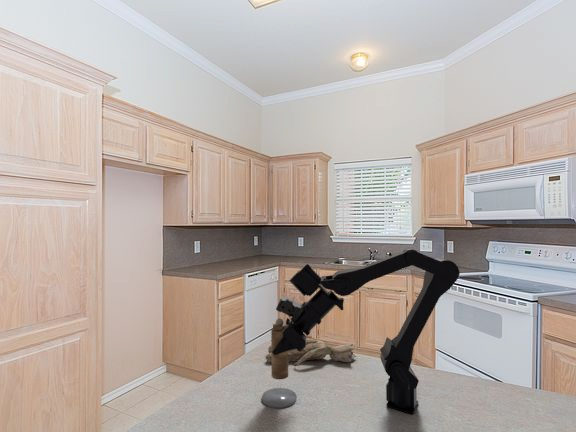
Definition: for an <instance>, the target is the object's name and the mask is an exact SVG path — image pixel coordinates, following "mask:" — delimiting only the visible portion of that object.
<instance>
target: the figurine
mask: <svg viewBox="0 0 576 432" xmlns="http://www.w3.org/2000/svg"><path fill="white" fill-rule="evenodd" d="M267 349H268V350H267V351H268V354H267V355H266V363H268V364H272V360H271V345H269V346H268V348H267ZM354 349H355V347H354V344H353V343H350V344H348V343H347V344H341V345H340V344H339V345H336V346H334V347H333V346H331V345H328V344H326V342H323V341H322V340H320V339H318V340H316V339H312V340H311V339H308V340H306V347H305V348H304V349H303V350H302V351H301V352H299V351H298V350H297V349H292V350H289V351H288V363H290V362H295V363H294V364H293V366H294V367H297V366H298V367H299V366H300V365H301V364H302V363H304V362H305V361H308V360H309V361H310V360H312V361H313V360H321V359H325V357H326V356H327V355H329V358H330V359H331V360H332V361H334V362H342V363H350V362H351V363H352V360H353V359H355V358H356V357H357V355H356V354H354V352H353V350H354Z"/></svg>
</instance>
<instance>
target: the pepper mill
mask: <svg viewBox="0 0 576 432" xmlns="http://www.w3.org/2000/svg"><path fill="white" fill-rule="evenodd" d="M286 326H287V325H286V322H285V323H284V320H283V319H282V318H281V317H280V318H277V319H276V320H275V323H273V324H272V328H271V329H270V330H271V331H270V332H271V333H270V335H271V341H270V342H271V344H270V346H271V360H272V363H271V378H272V379H274V380H284V379H288V378H289V362H288V351H286V352H283V353H280V354H277V355H274V354H273V353H272V351H273V350H274V348H275V347H276V345H277V344H278V342H279V341H280V340H281V338H282V337H283V334H282V330H283V327H286Z"/></svg>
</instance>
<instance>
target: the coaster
mask: <svg viewBox="0 0 576 432" xmlns="http://www.w3.org/2000/svg"><path fill="white" fill-rule="evenodd" d="M261 401H262V403H263V405H266V406H267V407H270V408H273V409H285V408H289V407H292V406H293V405H295V403H296V402H297V394H296V392H295V391H293V390H291V389H289V388H285V387H276V388H275V387H274V388H270V389H267V390H265V392H264V393H262V395H261Z"/></svg>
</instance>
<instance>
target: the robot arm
mask: <svg viewBox="0 0 576 432" xmlns="http://www.w3.org/2000/svg"><path fill="white" fill-rule="evenodd" d="M412 266H413V267H415V268H418V269H421V271H422V270H423V271H424V276H423V282H422V288H421V290H420V291H419V294H418V295H417V298H416V299H415V301H414V303H413V305H412V307H411V308H410V310H409V313H408V315H407V316H406V318H405V320H404V322H403V324H402V326H401V328H400V330H399V332H398V334H397V335H396V336H394V337H393V338H392V339H391V338H389V337H386V338H385V342H384V344H383V345H382V347H381V348H380V349H379V351H380V361H381V364H382V366H383V369H384V372H385V373H386V375H388V377H389V378H388V379H387V380H388V381H387V383H386V385H385V388H386V389H385V391H386V392H385V395H386V396H385V398H386V399H385V400H386V401H387V403H386V407H387V408H389V409H393V410H396V411H400V412H404V413H406V414H410V415H414V414H415V412H416V409H417V407H418V404H419V400H418V399H417V398H418V397H417V396H418V395H417V387H418V384H419V381H420V380H419V379H418V377H417V375H416V374H415V372H414V370H413V368H412V367H411V364H412V362H413V355H414V347H415V346H416V343H417V341H418V339H419V337H420V336H421V334H422V332H423V330H424V329H425V326H426V324H427V323H428V320H429V319H430V317H431V315H432V313H433V311H434V310H435V307H436V305H437V303H438V302H439V300H440V298H441V297H442V296H443V295H444V294H446V293H447V292H448V291H449V290H450V289H451V288H452V287H453V285H455V283H456V282H457V280H459V277H460V273H461V271H460V269H459V266H458V265H457V264H456V263H455V262H453V261H451V260H448V259H444V258H441V257H436V258H434V257H431V256H428V255H426V254H422V253H420V252H419V251H417V250H416V249H412V248H405V249H403V250H402V251H400V252H397V253H395V254H391V255H389V256H387V257H385V258H382V259H379V260H377V261H374V262H371V263H369V264H368V263H367V264H366V265H364V266H359V267H352V268H345V269H342V270H341V269H340V270H337V271H336V272H334V273H333V275H332V274H330V275H322V276H320V274H318V273H317V272H316V271H315V270H314V269H313V268H312V266H311V265H310V264H309V263H306V264H305V265H304V266H303V267H302V268H301V269H298V270H297V271H296V273H295V274H293V276H292V277H291V278H290V279H288V281H289V283H291V284H292V286H294V288H296V290H297V291H298V292H299V293H300V294H301V295H302V296H304V297H305V296H307V297H310V298H309V299H308V301H304V302H302V304H301V303H299V302H297V301H296V300H293V299H292V298H289V297H288V296H286V295H282V296H281V297H280V299H279V301H278V303H277V306H276V308H275V310H276V311H277V312H279V313H283V314H284V315H287V316H288V317H287V318H286V319H285V324H286V325H287V326H286V327H283V330H282V334H283V337H282V338H281V340H280V341H279V342H278V344H277V345H276V347H275V348H274V350H273V351H272V353H273V354H274V355H277V354H280V353H283V352H286V351H289V350H292V349H297V350H298V351H299V352H301V351H302V350H303V349H304V348H305V347H306V341H307V337H308V336H309V335H310V333H311V331H312V329H314V328H315V327H316V325H320V324H321V323H322V320H323V319H324V318H325V317H326V316H327V314H329V313H330V312H331V311H333V309H334V308H335V307H338V309H339V310H341V311H343V310H344V301H345V299H344V297H346V296H349V295H351V294H352V293H354V292H356V291H358V290H360V289H361V288H362V287H364V286H365V285H366V284H368V283H369V282H371V281H374V280H377V279H379V278H381V277H384V276H387V275H390V274H392V273H396V272H398V271H401V270H403V269H406V268H408V267H412ZM328 290H329V291H328ZM315 292H316V293H315ZM313 294H314V295H313ZM336 294H337V295H338V296H337V295H336ZM312 295H313V296H312ZM339 296H340V297H339ZM289 318H290V319H289Z"/></svg>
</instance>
